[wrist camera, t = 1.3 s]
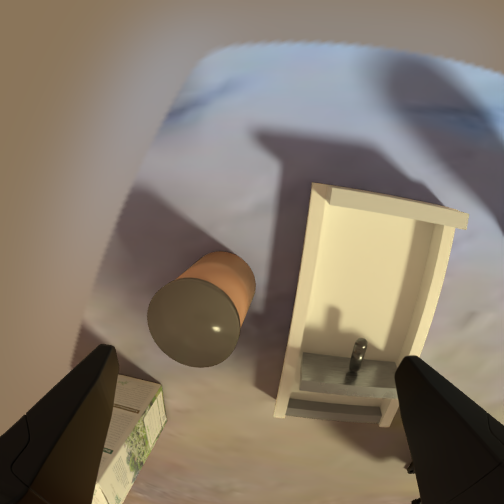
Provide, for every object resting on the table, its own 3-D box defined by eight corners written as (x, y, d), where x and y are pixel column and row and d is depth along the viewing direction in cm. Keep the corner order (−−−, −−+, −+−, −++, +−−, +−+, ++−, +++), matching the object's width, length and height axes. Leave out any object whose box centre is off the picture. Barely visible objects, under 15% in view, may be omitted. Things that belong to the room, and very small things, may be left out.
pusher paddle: (391, 371, 25) (401, 398, 21) (300, 361, 26) (299, 390, 22) (405, 331, 24) (418, 356, 20) (309, 320, 25) (309, 345, 21)
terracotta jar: (253, 321, 27) (233, 375, 19) (187, 309, 28) (148, 355, 20) (261, 255, 25) (242, 290, 18) (190, 244, 26) (146, 274, 19)
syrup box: (115, 371, 31) (38, 458, 17) (164, 383, 30) (95, 486, 16) (124, 410, 32) (61, 494, 19) (170, 422, 32) (115, 520, 18)
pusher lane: (384, 410, 27) (395, 453, 21) (276, 400, 29) (268, 444, 23) (445, 206, 22) (481, 217, 16) (312, 182, 24) (314, 184, 18)
